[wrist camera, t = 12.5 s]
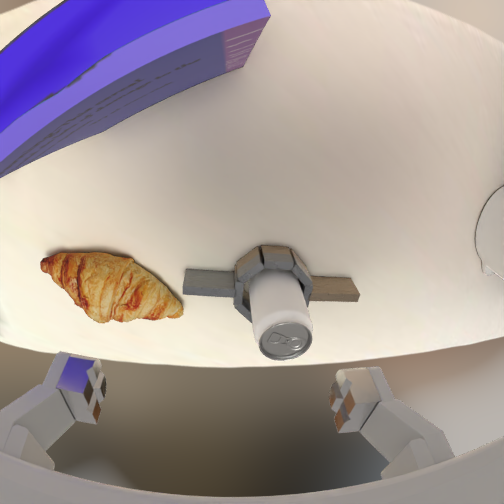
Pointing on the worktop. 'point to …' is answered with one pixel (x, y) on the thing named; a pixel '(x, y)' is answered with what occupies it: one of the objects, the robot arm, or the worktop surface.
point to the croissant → (111, 287)
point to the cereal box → (112, 65)
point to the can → (279, 314)
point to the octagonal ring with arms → (321, 285)
